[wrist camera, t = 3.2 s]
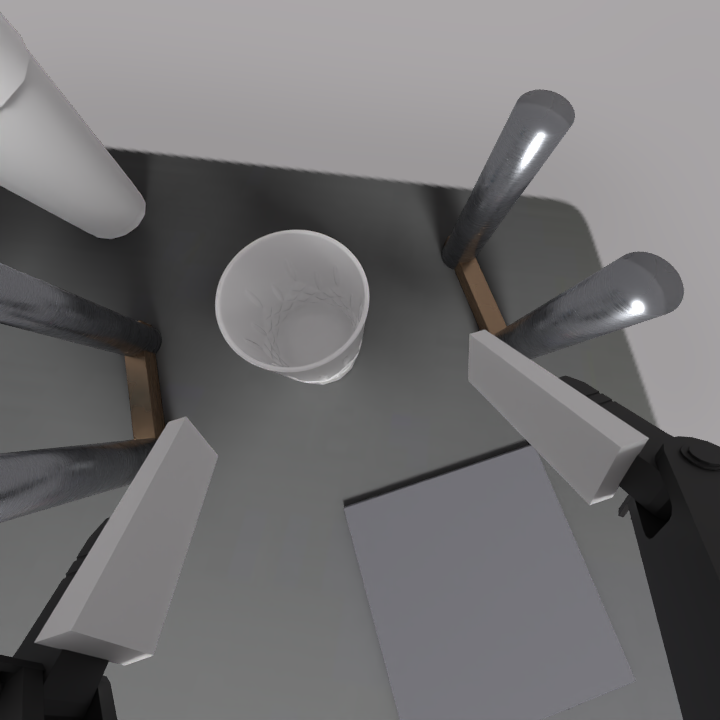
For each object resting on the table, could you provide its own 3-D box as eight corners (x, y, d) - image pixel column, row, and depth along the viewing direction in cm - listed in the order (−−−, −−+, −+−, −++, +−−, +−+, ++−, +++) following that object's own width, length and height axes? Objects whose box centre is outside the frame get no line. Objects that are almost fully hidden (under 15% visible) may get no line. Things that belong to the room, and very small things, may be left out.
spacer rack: (142, 480, 20) (-153, 568, 9) (125, 332, 23) (-117, 245, 11) (521, 362, 22) (697, 304, 11) (465, 239, 25) (558, 84, 13)
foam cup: (99, 270, 24) (-184, 113, 12) (48, 212, 26) (-254, 15, 13) (180, 210, 26) (6, 12, 13) (127, 158, 27) (-75, -66, 15)
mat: (412, 764, 17) (413, 772, 16) (344, 506, 20) (343, 508, 20) (629, 675, 18) (636, 680, 17) (531, 444, 21) (534, 444, 21)
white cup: (298, 294, 24) (256, 210, 14) (377, 323, 23) (390, 256, 14) (261, 372, 22) (185, 338, 13) (345, 405, 22) (334, 396, 12)
